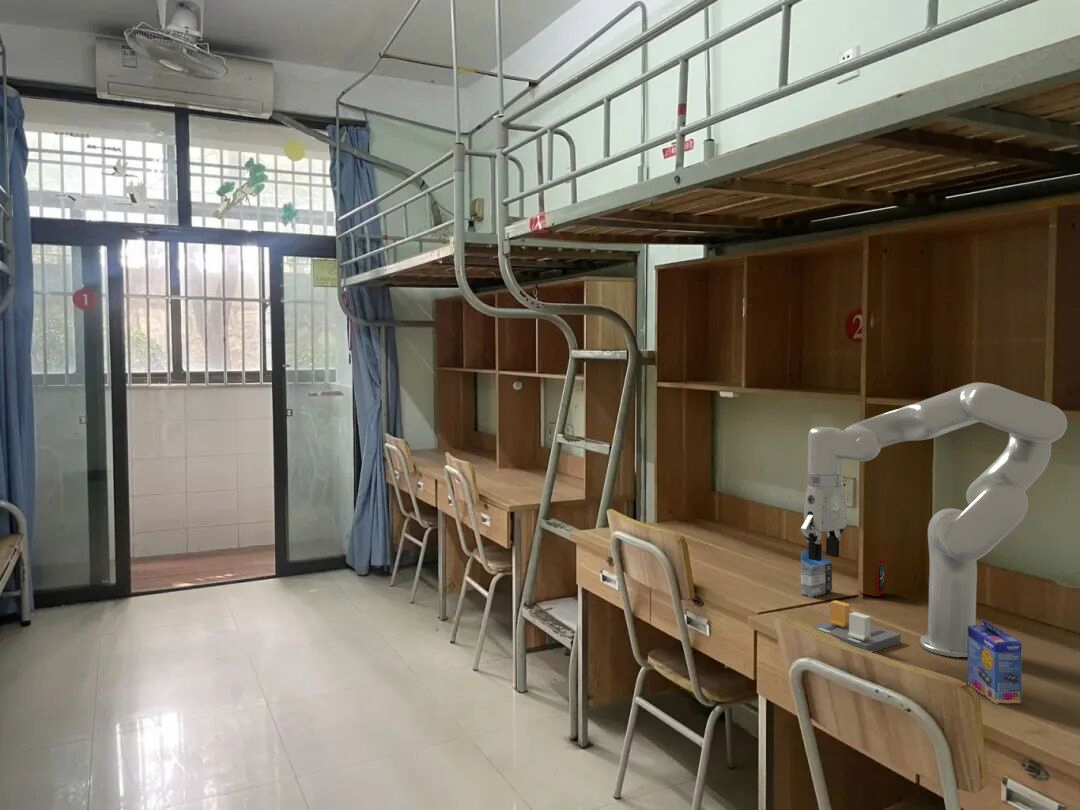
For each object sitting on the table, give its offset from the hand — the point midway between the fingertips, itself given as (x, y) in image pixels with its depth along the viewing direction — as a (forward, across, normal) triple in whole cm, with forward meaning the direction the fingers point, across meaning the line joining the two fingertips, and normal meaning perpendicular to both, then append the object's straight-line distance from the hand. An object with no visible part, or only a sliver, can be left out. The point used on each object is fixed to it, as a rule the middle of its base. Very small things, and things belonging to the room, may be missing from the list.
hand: (823, 557), depth 187 cm
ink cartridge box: (+20, +2, -38) cm, 43 cm away
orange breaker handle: (+17, +7, 0) cm, 18 cm away
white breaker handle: (+17, +2, -8) cm, 19 cm away
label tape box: (+20, +29, +24) cm, 43 cm away
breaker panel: (+20, +6, -4) cm, 21 cm away
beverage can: (+20, +41, +15) cm, 48 cm away
